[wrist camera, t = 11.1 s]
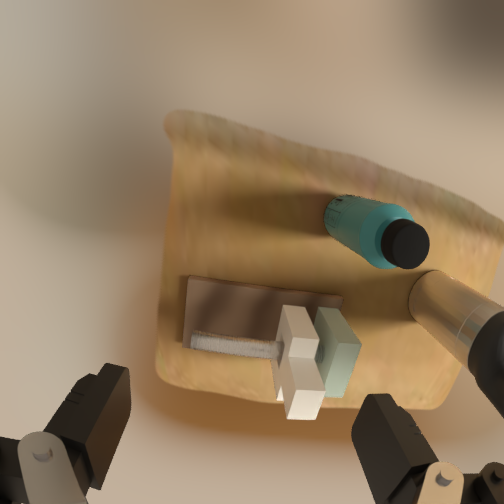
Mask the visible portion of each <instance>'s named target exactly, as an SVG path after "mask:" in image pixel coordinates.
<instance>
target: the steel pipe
mask: <svg viewBox="0 0 504 504" xmlns="http://www.w3.org/2000/svg"><path fill="white" fill-rule="evenodd" d="M284 348H285V344H284V342H282V341H272V340H263V339H255V338H247V337H239V336H231V335H224V334H217V333H210V332H203V331H197V330H193V332H192V338H191V349H195V350H201V351H208V352H214V353H222V354H229V355H237V356H245V357H253V358H262V359H272V360H282V356H283V352H284ZM324 357H325V347H324V345H318V347H317V350H316V354H315V357H314V360H315V362H316V363H322V362H323V361H324Z"/></svg>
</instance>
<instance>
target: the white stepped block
mask: <svg viewBox="0 0 504 504" xmlns="http://www.w3.org/2000/svg"><path fill="white" fill-rule="evenodd" d="M319 340H320V339H319V337H318V335H317V333H316V331H315V328H314V326H313V324H312V322H311V319H310V317H309V315H308V313H307V311H306V308H305V307H300V306H291V305H283V307H282V312H281V317H280V321H279V326H278V331H277V335H276V340H275V341H282V342H284V344H285V348H284V352H283V356H282V360H272V359H271V365H272V372H273V379H274V385H275V392H276V399H277V400H280V401H284V405H285V410H286V416H287V419H303V420H315V419H316V417H317V414H318V411H319V409H320V406H321V403H322V401H323V398H324V395H325V392H326V389H325V387H324V384H323V381H322V379H321V376H320V373H319V370H318V368H317V365H316V362H315V360H314V357H315V354H316V350H317V347H318V343H319Z"/></svg>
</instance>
